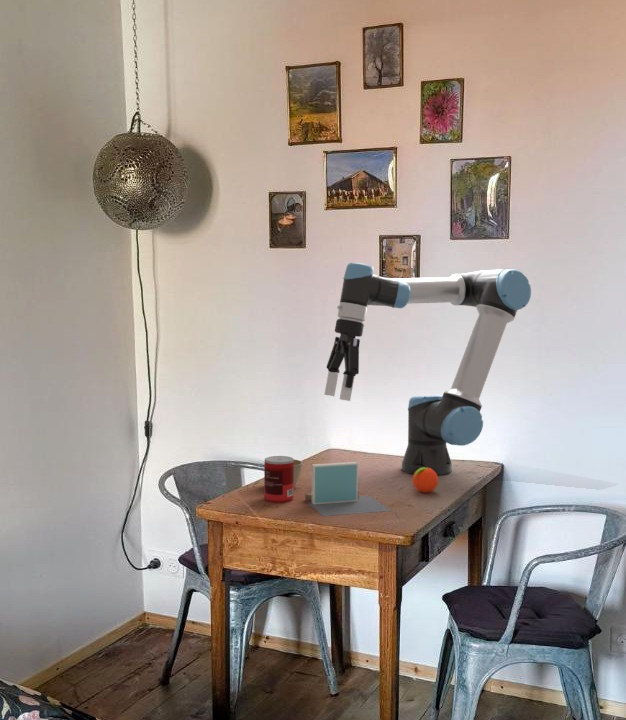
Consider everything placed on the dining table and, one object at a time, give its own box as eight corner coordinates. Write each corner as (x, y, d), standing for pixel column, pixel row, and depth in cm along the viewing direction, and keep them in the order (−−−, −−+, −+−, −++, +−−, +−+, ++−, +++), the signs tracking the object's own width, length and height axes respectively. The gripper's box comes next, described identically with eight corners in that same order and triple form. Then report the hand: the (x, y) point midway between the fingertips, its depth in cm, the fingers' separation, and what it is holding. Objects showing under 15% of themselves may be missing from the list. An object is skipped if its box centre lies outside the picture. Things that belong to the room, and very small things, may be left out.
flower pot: (267, 483, 236) (268, 458, 235) (303, 483, 236) (303, 458, 235) (264, 491, 226) (264, 465, 226) (301, 492, 226) (301, 466, 225)
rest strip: (355, 497, 219) (355, 489, 219) (358, 499, 217) (358, 491, 217) (305, 500, 215) (305, 493, 215) (307, 502, 213) (307, 495, 213)
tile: (355, 499, 217) (355, 461, 216) (357, 501, 215) (358, 463, 214) (311, 502, 213) (311, 464, 212) (313, 504, 212) (313, 465, 211)
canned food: (291, 495, 222) (291, 455, 221) (295, 503, 214) (295, 461, 213) (262, 496, 220) (262, 456, 219) (266, 504, 212) (266, 462, 212)
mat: (368, 496, 221) (368, 495, 221) (392, 511, 206) (392, 510, 206) (304, 501, 216) (304, 500, 216) (323, 517, 201) (323, 516, 201)
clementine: (423, 497, 221) (424, 471, 220) (404, 492, 226) (404, 466, 225) (443, 492, 226) (443, 467, 226) (423, 488, 231) (424, 463, 231)
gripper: (324, 317, 235) (310, 391, 235) (352, 317, 211) (338, 399, 211) (348, 322, 237) (335, 395, 237) (379, 323, 213) (365, 404, 213)
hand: (336, 397), depth 224 cm, fingers open, 13 cm apart
